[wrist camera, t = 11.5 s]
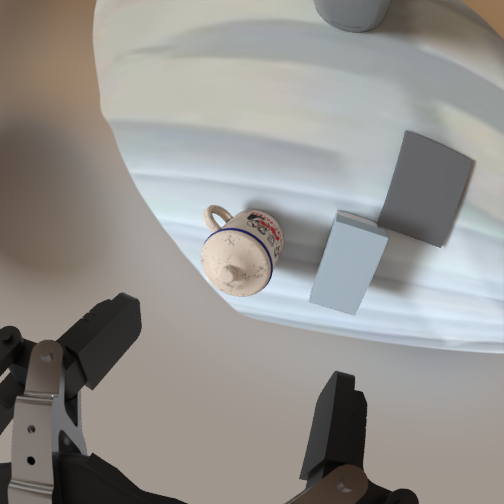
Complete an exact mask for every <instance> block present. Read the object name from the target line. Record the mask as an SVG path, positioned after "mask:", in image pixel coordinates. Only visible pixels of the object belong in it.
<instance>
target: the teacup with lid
mask: <svg viewBox="0 0 504 504" xmlns="http://www.w3.org/2000/svg"><path fill="white" fill-rule="evenodd" d="M212 213H215V214H217V215H219V216H220V217H221V218H222V219H223V220H224V221H225V222H226V224H225V225H224V226H223V227H222V228H221V227H220V226H219V225H218V224H217V222H216V221H215V220H214V218H213V216H212ZM203 217H204V221H205V223H206V225H207V226H208V228H209V229H210V230H211V231H212V232H213V234H211V235H210V236H209V237H208V239H207V240H206V241H205V243H204V245H203V248H202V253H201V262H202V267H203V270H204V272H205V275H206V276H207V278H208V279H209V281H210V282H211V283H212V284H213V285H214V286H215V287H217V288H218V289H219V290H221V291H223V292H225V293H227V294H229V295H233V296H241V297H242V296H250V295H253V294H256V293H258V292H259V291H261V290H262V289H263V288H265V287H266V285H267V284H268V283H269V281H270V279H271V276H272V272H273V268H274V266H275V264H276V262H277V260H278V258H279V256H280V253H281V251H282V249H283V245H284V236H283V232H282V229H281V227H280V225H279V224H278V222H277V221H276V220H275V219H274V218H273V217H272V216H270V215H269V214H267V213H265V212H263V211H259V210H245V211H242V212H240V213H238V214H236V215H235V216H234V217H232V216H231V214H230V213H229V212H228V211H227V210H225V209H224V208H222V207H220V206H217V205H211V206H209V207H208V208H206V209H205V211H204V213H203Z"/></svg>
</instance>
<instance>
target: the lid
mask: <svg viewBox="0 0 504 504" xmlns="http://www.w3.org/2000/svg"><path fill="white" fill-rule="evenodd" d="M388 239H389V238H388V235H387V232H386V230H385V229H382V228H379V227H376V226H373V225H370V224H367V223H364V222H361V221H358V220H355V219H351V218H348V217H345V216H342V215H339V214H336V217H335V221H334V224H333V227H332V230H331V233H330V237H329V240H328V243H327V246H326V249H325V252H324V255H323V258H322V261H321V264H320V267H319V270H318V273H317V276H316V278H315V281H314V284H313V287H312V290H311V294H310V298H309V302H311V303H314V304H318V305H321V306H324V307H327V308H331V309H334V310H338V311H341V312H344V313H348V314H351V315H355V314H356V312H357V310H358V308H359V306H360V303H361V301H362V299H363V297H364V295H365V293H366V291H367V288H368V286H369V284H370V282H371V280H372V277H373V275H374V273H375V270H376V268H377V266H378V263H379V261H380V259H381V256H382V254H383V251H384V249H385V246H386V244H387V241H388Z"/></svg>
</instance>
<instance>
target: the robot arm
mask: <svg viewBox="0 0 504 504" xmlns="http://www.w3.org/2000/svg"><path fill="white" fill-rule="evenodd" d="M390 1H391V0H314V3H315V6H316V9H317V11H318V13H319V14H320V16H321V17H322V18H323V19H324V20H325V21H326V22H328V23H329V24H330V25H332V26H334V27H336V28H338V29H341V30H344V31H350V32H364V31H368V30H371V29H373V28H375V27H376V26H378V25H379V24H380V23H381V22H382V21H383V18H384V16H385V14H386V11H387V9H388V7H389V4H390ZM141 328H142V324H141V313H140V302H139V300H138V299H136V298H134V297H132V296H130V295H127V294H125V293H120V294H118V295H117V296H116V297H115V298H114V299H113V300H109V299H108V300H105V301H103V302H101V303H98V304H97V305H96V306H94V307H93V308H92V309H91V310H90V311H89V313H86V314H85V315H84V316H83V318H82V319H80V320H79V321H77V322H76V323H75V324H74V325H73V326H72V327H71V328H70V329H69V330H68V331H66V333H64V334H63V335H62V336H61V337H60V338H59V339H58V340H56V341H54V340H43V341H41V342H39V343H35V342H32V341H29V340H26V339H24V338H22V335H21V333H20V331H19V329H17V328H16V327H14V326H6V327H3V328H2V329H0V376H1V375H2V374H3V373H4V371H6V369H7V368H9V370H10V373H9V374H8V375H7V376H6V378H5V379H4V380H3V381H2V382H1V383H0V435H1V433H2V432H3V431H4V429H5V428H6V427H7V425H8V424H9V423H10V421H11V420H12V419H13V431H12V432H13V433H12V462H9V463H0V504H187V503H185V502H182V501H179V500H177V499H175V498H170V497H166V496H162V495H157V494H153V493H149V492H145V491H143V490H141V489H139V488H138V487H137V486H136V485H135V484H134V483H132V482H131V481H130V480H129V479H128V478H127V477H126V476H125V475H124V474H122V473H121V472H120V471H119V470H118V469H117V468H116V467H114V466H112V465H111V464H109V463H107V462H106V461H104V460H103V459H101V458H100V457H98V456H97V455H95V454H94V453H92V454H91V456H87V448H86V443H85V439H84V437H83V433H82V425H81V424H82V423H81V390H80V389H81V388H82V387H83V386H84V385H85V386H87V387H88V388H90V389H91V390H93V389H94V388H95V387H96V386H97V385H98V383H99V382H100V381H101V380H102V379H103V378H104V376H105V375H106V374H107V373H108V372H109V371H110V369H111V368H112V367H113V366H114V365H115V364H116V362H117V361H118V360H119V359H120V358H121V357H122V356H123V354H124V353H125V352H126V351H127V350H128V349H129V347H130V346H131V345H132V344H133V343H134V342H135V341H136V339H137V338H138V336H139V334H140V332H141ZM354 388H355V376H354V375H350V374H347V373H343V372H339V371H335V372H334V373H333V375H332V376H331V378H330V379H329V381H328V383H327V384H326V386H325V387H324V389H323V390H322V392H321V393H320V395H319V398H318V400H317V403H316V407H315V413H314V417H313V422H312V427H311V432H310V437H309V441H308V445H307V450H306V454H305V458H304V462H303V466H302V470H301V474H300V478H299V479H302V480H307V484H306V488H305V489H304V490H303V491H302V492H300V493H299V494H297V495H296V496H295V497H293V498H292V499H290V500H289V501H287V502H286V503H284V504H419V501H418V498H417V496H416V494H415V493H414V492H412V491H411V490H409V489H398V490H395V491H393V492H392V491H390V490H387V489H385V488H383V487H380V486H378V485H376V484H374V483H372V482H371V481H370V480H369V479H368V478H367V476H366V474H365V472H364V469H363V458H364V447H365V436H366V435H365V434H366V428H365V427H366V420H367V419H366V417H367V402H366V399H365V397H364V394H363V392H361V391H356V390H354Z"/></svg>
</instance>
